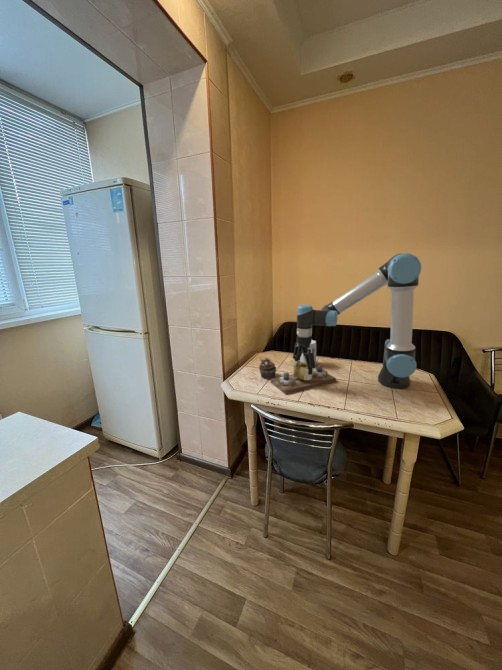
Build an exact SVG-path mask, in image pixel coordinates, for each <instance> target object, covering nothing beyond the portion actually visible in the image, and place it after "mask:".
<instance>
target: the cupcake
mask: <svg viewBox="0 0 502 670" xmlns="http://www.w3.org/2000/svg"><path fill="white" fill-rule="evenodd" d="M258 369H259V371H260V372H259V373H260V376H261V378H262V379H265V380H269V379H270V380H271V379H274V378H276V372H277V367H276V364H275V363H274V362H273V361H272V360H271V359H268V358H265V359H261V360H260V363H259V367H258Z"/></svg>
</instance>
